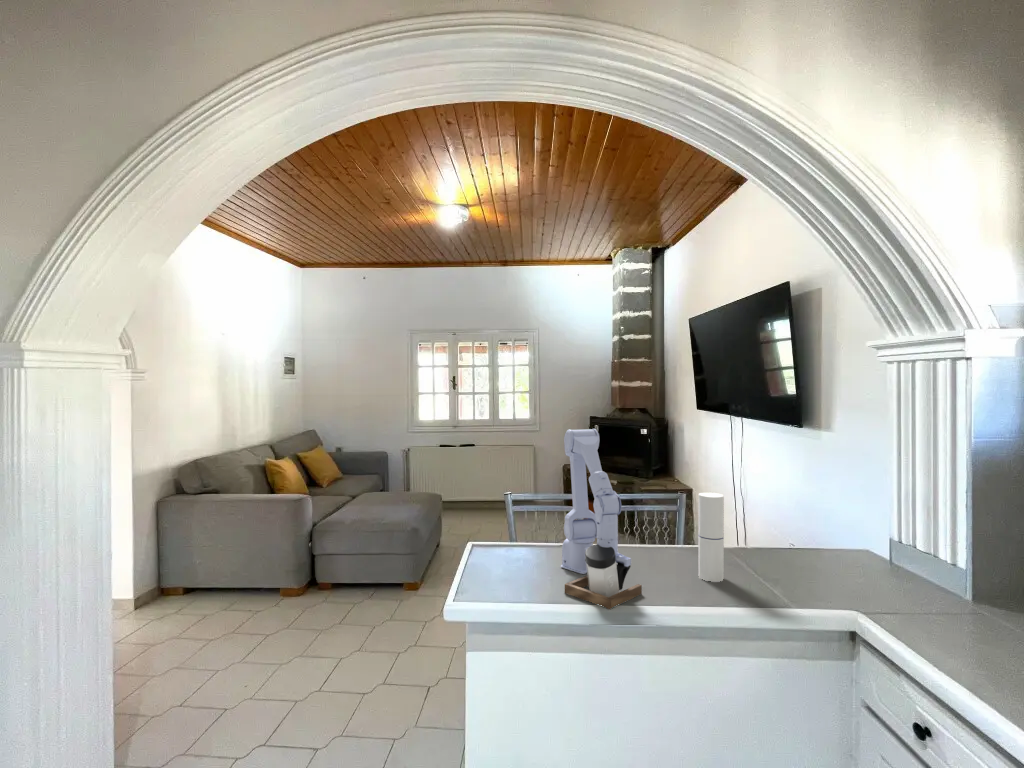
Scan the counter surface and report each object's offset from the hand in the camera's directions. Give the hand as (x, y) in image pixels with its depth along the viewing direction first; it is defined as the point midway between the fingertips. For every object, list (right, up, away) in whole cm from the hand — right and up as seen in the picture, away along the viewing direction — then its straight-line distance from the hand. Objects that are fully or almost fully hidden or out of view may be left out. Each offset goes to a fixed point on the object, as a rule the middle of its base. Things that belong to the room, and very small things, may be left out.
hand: (607, 585), depth 155 cm
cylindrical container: (+33, -2, +11) cm, 35 cm away
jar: (-1, -1, -1) cm, 2 cm away
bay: (-1, -2, -1) cm, 2 cm away
